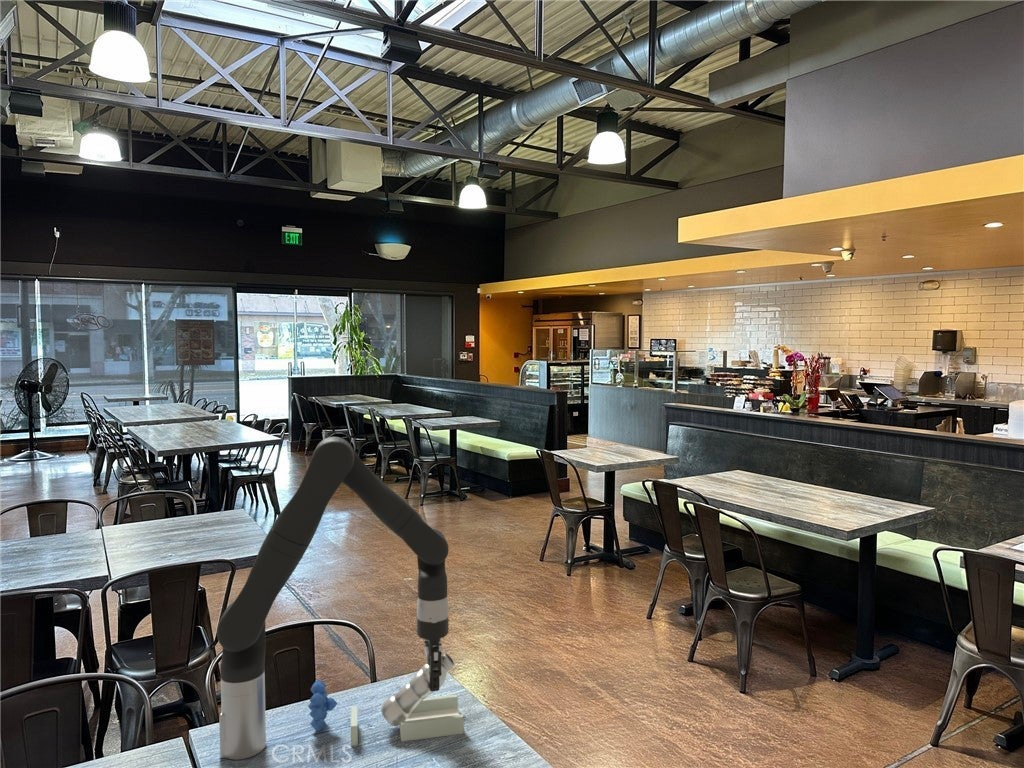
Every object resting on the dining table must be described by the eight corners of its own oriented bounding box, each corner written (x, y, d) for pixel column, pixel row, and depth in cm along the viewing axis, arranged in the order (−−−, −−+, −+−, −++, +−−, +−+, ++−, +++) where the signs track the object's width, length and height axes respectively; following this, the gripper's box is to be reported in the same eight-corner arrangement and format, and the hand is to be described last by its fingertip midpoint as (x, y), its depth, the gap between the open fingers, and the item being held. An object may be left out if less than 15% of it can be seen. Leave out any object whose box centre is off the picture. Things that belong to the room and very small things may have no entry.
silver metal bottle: (373, 705, 160) (437, 645, 162) (386, 708, 166) (448, 650, 168) (386, 729, 157) (451, 667, 159) (400, 731, 162) (462, 671, 164)
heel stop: (350, 745, 155) (350, 726, 155) (351, 724, 163) (350, 706, 163) (357, 744, 155) (357, 725, 155) (357, 724, 164) (357, 705, 164)
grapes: (336, 741, 156) (335, 690, 156) (305, 744, 155) (304, 693, 155) (339, 715, 168) (338, 667, 167) (310, 718, 167) (309, 670, 166)
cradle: (401, 741, 156) (400, 724, 156) (398, 717, 167) (398, 701, 167) (463, 733, 159) (463, 716, 159) (457, 710, 170) (456, 694, 170)
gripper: (414, 605, 168) (414, 671, 169) (419, 627, 154) (419, 700, 155) (444, 602, 170) (444, 668, 171) (452, 624, 156) (452, 696, 157)
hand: (432, 683), depth 163 cm, fingers closed on silver metal bottle, 6 cm apart
